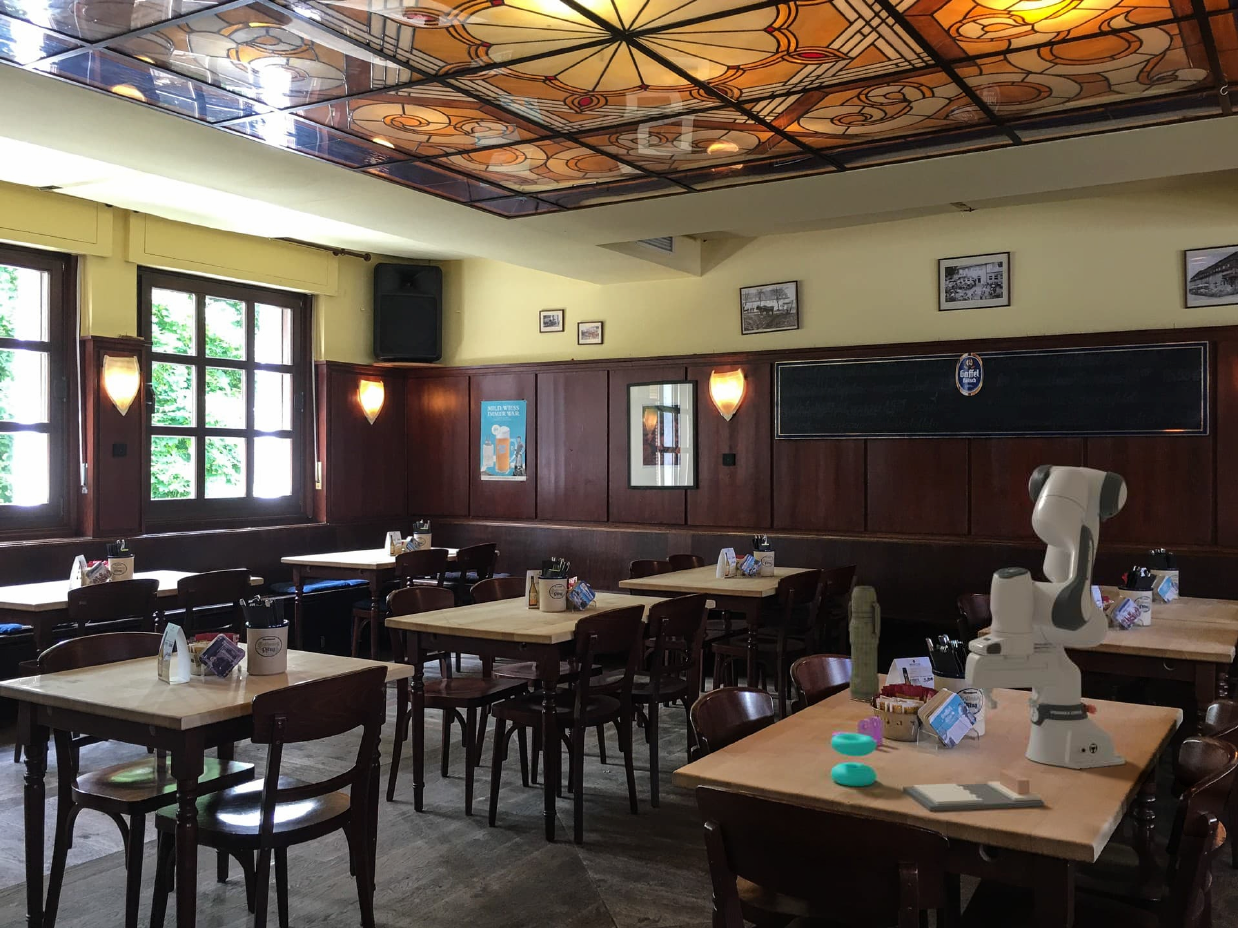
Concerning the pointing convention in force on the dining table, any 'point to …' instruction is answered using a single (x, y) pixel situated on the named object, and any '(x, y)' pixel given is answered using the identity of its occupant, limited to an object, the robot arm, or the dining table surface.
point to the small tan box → (1014, 786)
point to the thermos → (864, 642)
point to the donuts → (853, 771)
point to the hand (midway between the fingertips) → (1012, 707)
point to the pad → (963, 797)
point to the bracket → (869, 729)
